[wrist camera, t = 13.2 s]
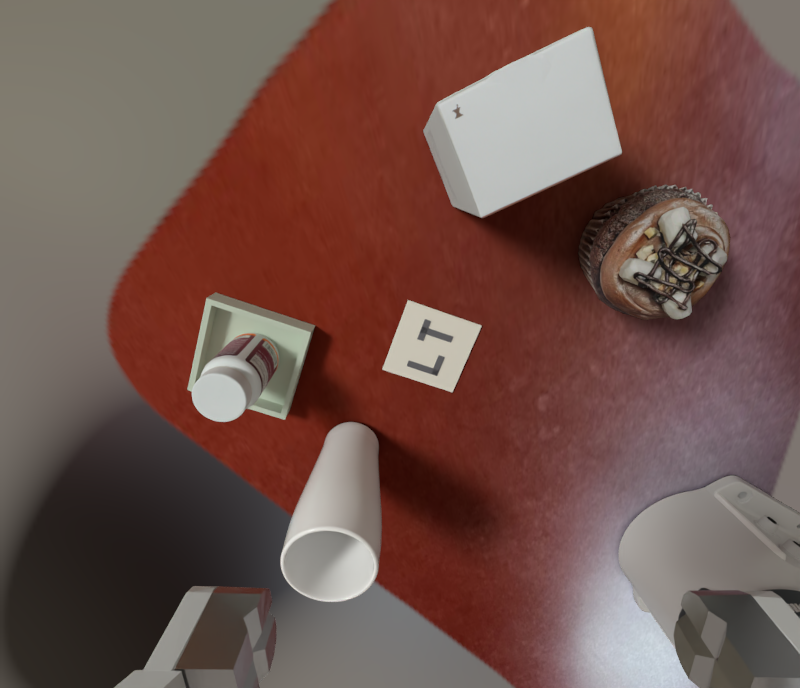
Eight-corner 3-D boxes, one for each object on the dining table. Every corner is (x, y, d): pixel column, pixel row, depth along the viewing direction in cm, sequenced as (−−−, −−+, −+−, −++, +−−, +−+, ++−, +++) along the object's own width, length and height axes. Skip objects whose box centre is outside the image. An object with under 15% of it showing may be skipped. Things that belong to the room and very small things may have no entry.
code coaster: (481, 325, 39) (481, 325, 39) (452, 391, 42) (452, 392, 42) (407, 299, 39) (408, 300, 38) (382, 369, 41) (382, 369, 41)
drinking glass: (370, 403, 42) (355, 514, 28) (396, 459, 44) (394, 588, 30) (306, 425, 43) (260, 544, 29) (335, 479, 45) (305, 614, 31)
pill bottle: (222, 369, 41) (179, 414, 33) (235, 323, 39) (193, 359, 31) (272, 387, 41) (242, 435, 33) (287, 342, 40) (259, 381, 32)
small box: (452, 208, 36) (478, 221, 24) (421, 129, 34) (432, 100, 22) (547, 163, 35) (626, 154, 23) (521, 79, 33) (592, 19, 21)
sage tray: (315, 325, 39) (311, 332, 38) (289, 409, 42) (284, 419, 41) (215, 292, 38) (206, 297, 37) (196, 381, 41) (187, 390, 40)
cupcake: (640, 317, 39) (715, 360, 30) (545, 274, 38) (592, 304, 28) (707, 215, 36) (815, 226, 27) (606, 163, 35) (682, 156, 25)
